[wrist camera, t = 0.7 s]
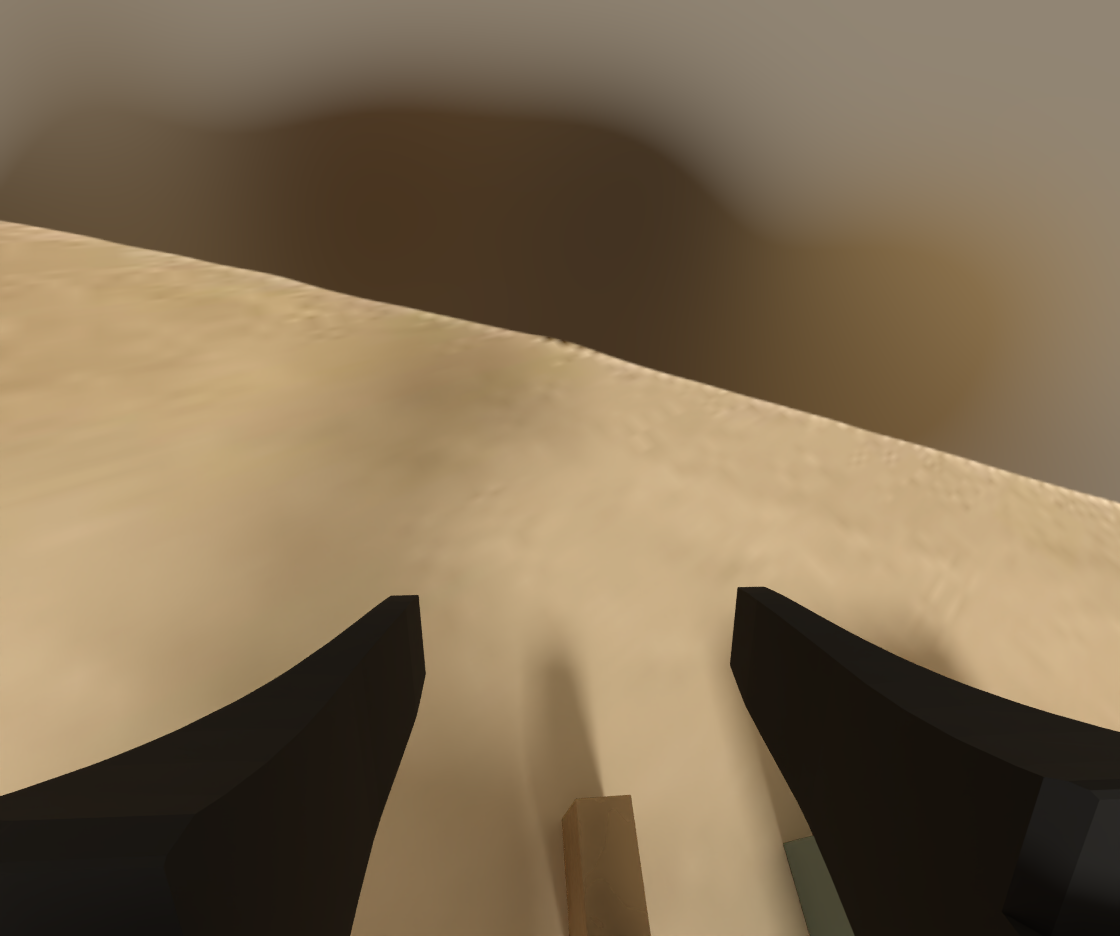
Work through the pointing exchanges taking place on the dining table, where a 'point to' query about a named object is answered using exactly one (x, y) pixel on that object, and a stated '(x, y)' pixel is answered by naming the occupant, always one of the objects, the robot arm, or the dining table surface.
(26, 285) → the dining table surface
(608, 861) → the block
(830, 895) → the box
